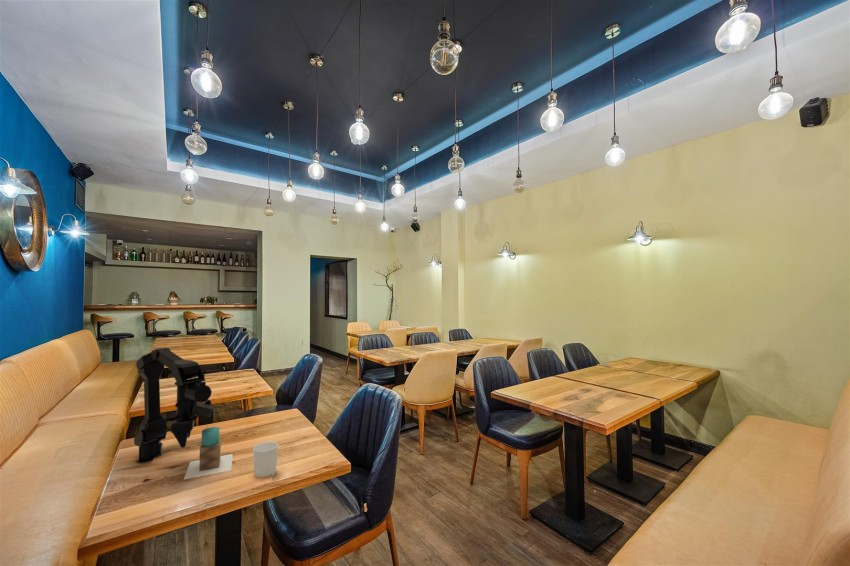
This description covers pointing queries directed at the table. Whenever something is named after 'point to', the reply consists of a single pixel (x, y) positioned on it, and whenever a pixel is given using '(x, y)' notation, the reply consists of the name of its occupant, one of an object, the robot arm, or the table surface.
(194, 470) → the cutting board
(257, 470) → the white cup
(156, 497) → the table surface
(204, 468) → the block
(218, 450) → the tower top
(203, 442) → the teal cylinder
